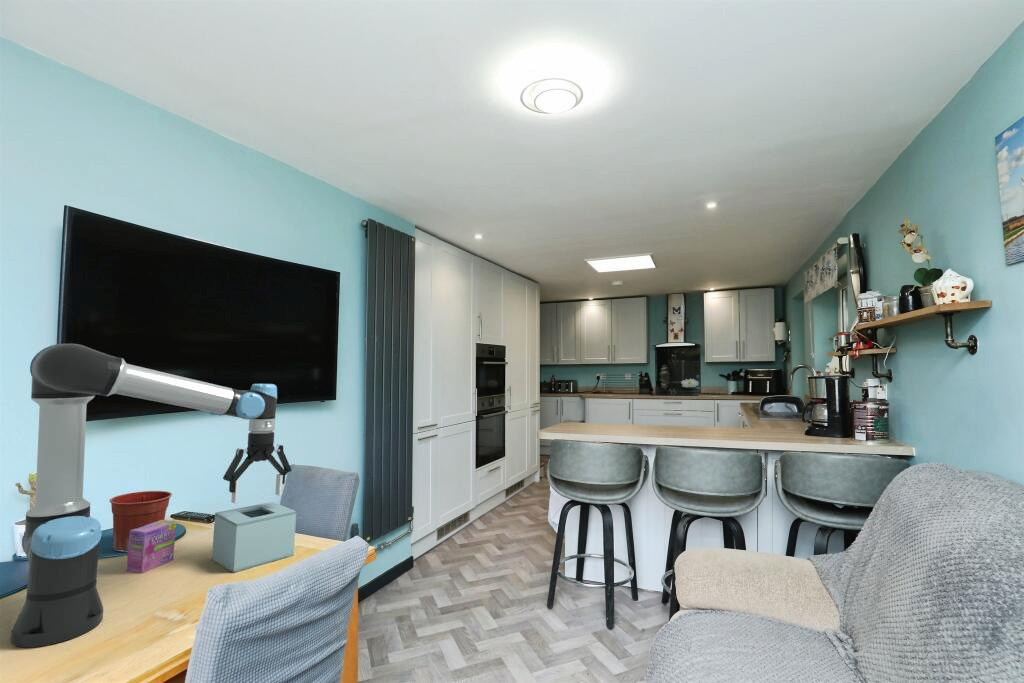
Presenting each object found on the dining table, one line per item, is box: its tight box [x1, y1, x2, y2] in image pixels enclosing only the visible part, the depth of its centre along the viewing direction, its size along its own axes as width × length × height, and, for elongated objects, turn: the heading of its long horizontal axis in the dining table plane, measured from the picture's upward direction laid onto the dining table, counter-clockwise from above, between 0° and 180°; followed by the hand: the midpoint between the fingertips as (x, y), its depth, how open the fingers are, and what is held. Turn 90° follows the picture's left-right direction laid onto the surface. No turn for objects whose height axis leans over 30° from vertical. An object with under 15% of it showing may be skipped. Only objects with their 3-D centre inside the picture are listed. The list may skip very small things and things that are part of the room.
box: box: [126, 519, 177, 574], centre depth 143 cm, size 10×6×12 cm, turn 168°
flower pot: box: [109, 490, 173, 551], centre depth 158 cm, size 16×16×16 cm
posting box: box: [211, 501, 297, 574], centre depth 152 cm, size 18×16×14 cm
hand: (257, 498), depth 153 cm, fingers open, 13 cm apart
